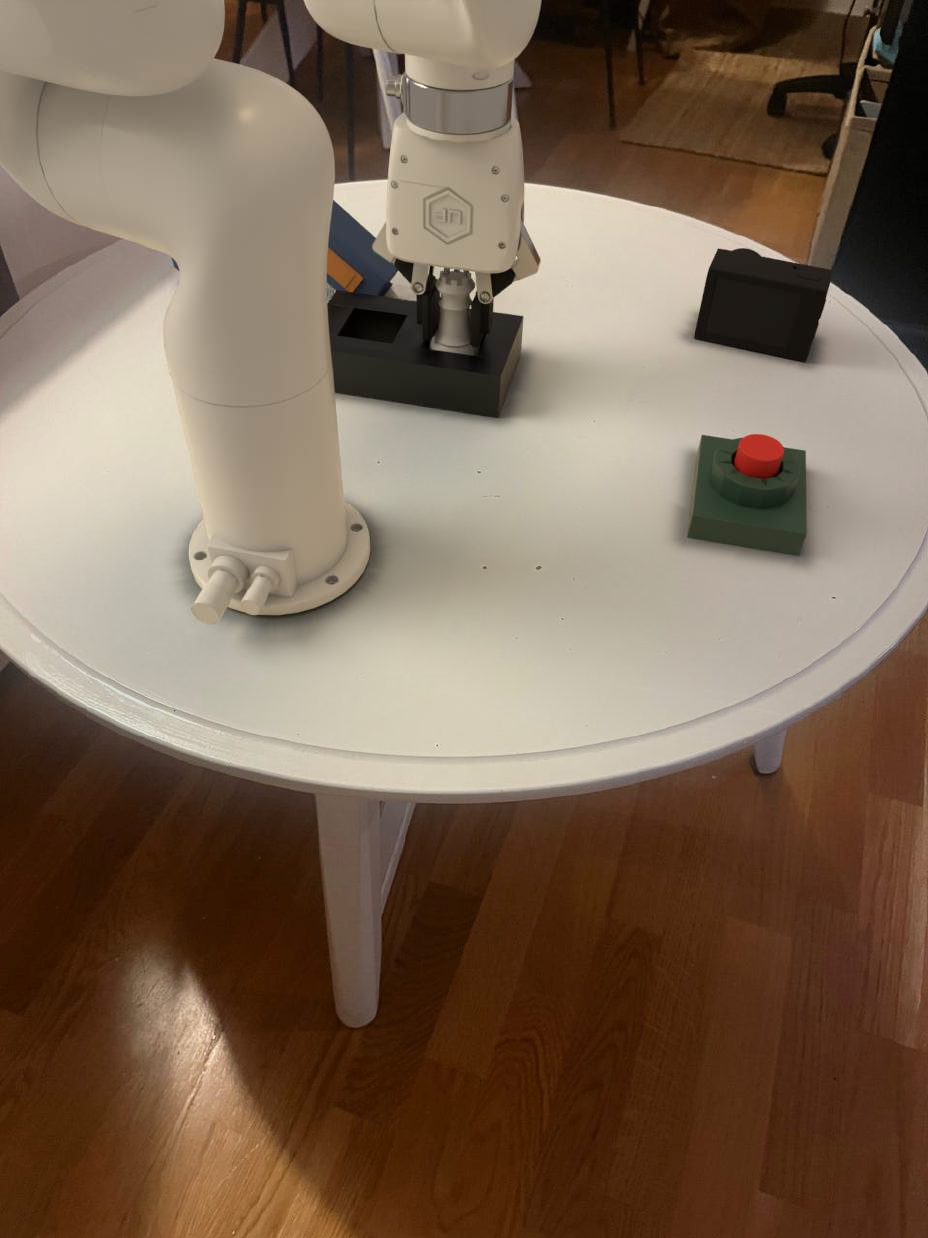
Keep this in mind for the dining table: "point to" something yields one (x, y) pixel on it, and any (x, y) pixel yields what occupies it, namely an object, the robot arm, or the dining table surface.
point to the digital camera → (762, 303)
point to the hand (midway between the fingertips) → (454, 333)
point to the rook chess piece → (454, 313)
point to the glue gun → (354, 258)
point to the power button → (759, 456)
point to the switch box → (748, 500)
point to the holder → (417, 357)
